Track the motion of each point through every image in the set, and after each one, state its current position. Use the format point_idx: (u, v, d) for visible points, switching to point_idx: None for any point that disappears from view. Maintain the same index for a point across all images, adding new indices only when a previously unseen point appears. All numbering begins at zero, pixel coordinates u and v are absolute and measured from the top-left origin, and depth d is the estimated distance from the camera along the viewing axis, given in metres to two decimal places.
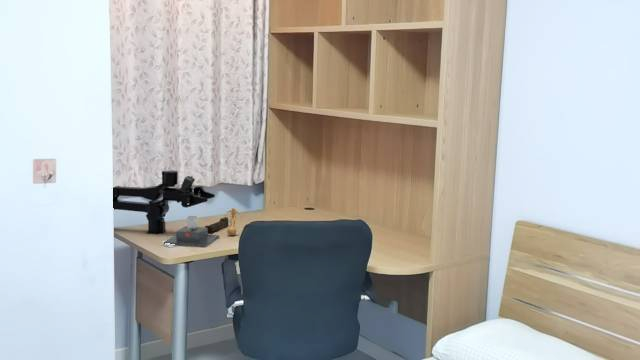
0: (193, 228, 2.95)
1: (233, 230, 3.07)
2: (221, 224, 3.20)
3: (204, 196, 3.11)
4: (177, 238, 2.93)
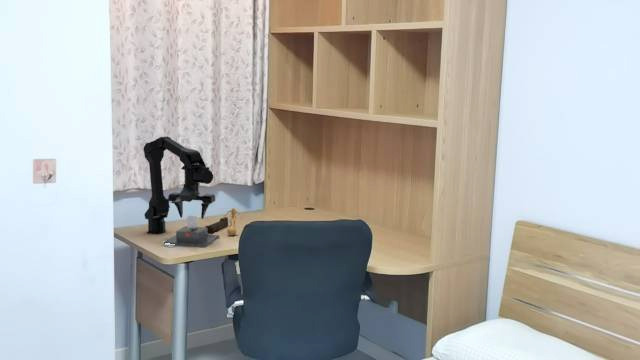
0: (193, 228, 2.95)
1: (233, 230, 3.07)
2: (221, 224, 3.20)
3: None
4: (177, 238, 2.93)
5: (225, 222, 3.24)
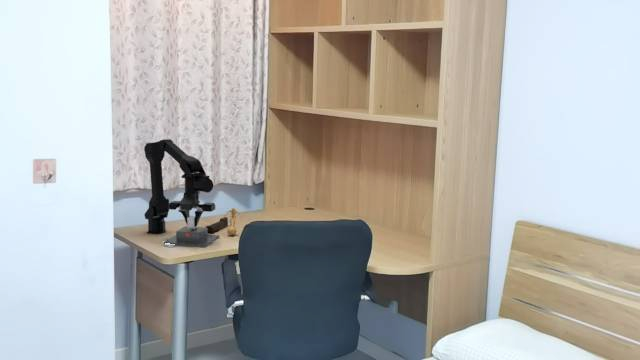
0: (193, 228, 2.95)
1: (233, 230, 3.07)
2: (221, 224, 3.20)
3: None
4: (177, 238, 2.93)
5: (225, 222, 3.24)
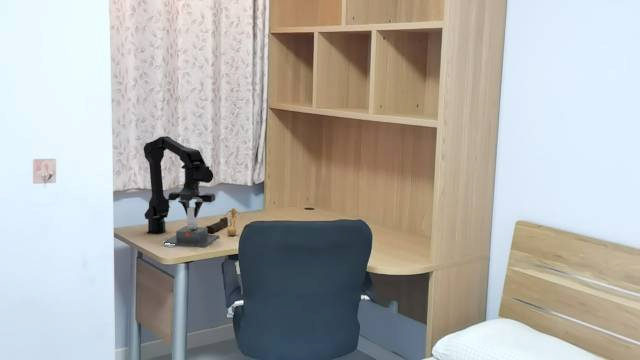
0: (193, 219, 2.95)
1: (233, 230, 3.07)
2: (221, 224, 3.20)
3: None
4: (177, 238, 2.93)
5: (225, 222, 3.24)
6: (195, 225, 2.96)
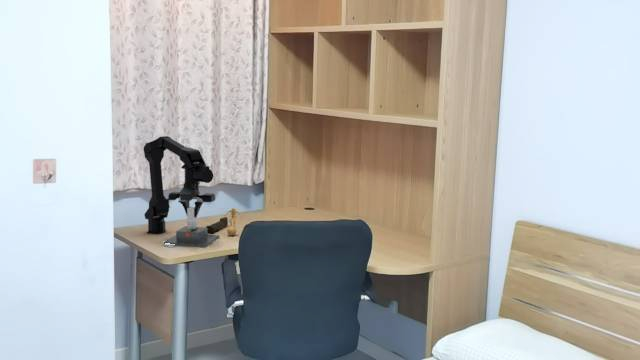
0: (193, 219, 2.95)
1: (233, 230, 3.07)
2: (221, 224, 3.20)
3: None
4: (177, 238, 2.93)
5: (225, 222, 3.24)
6: (195, 225, 2.96)
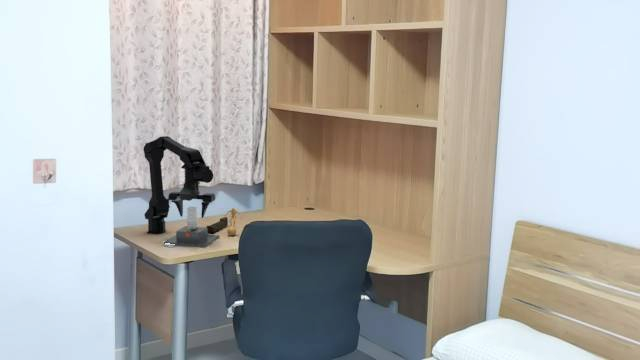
0: (193, 219, 2.95)
1: (233, 230, 3.07)
2: (221, 224, 3.20)
3: None
4: (177, 238, 2.93)
5: (225, 222, 3.24)
6: (195, 225, 2.96)
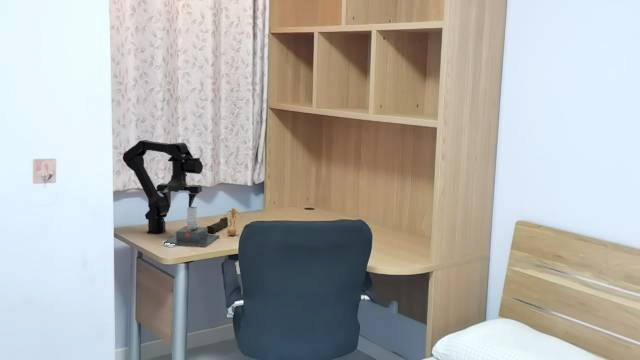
0: (193, 219, 2.95)
1: (233, 230, 3.07)
2: (222, 224, 3.20)
3: None
4: (177, 238, 2.93)
5: (225, 222, 3.24)
6: (195, 225, 2.96)
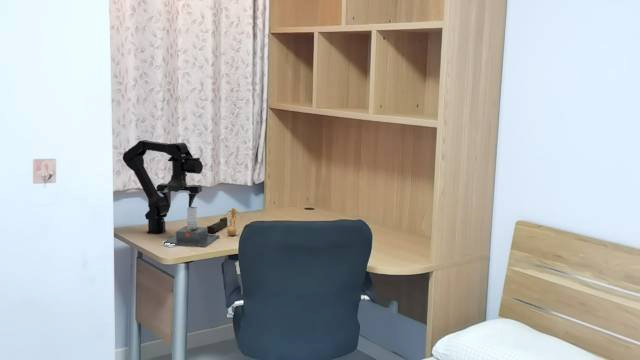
0: (193, 219, 2.95)
1: (233, 230, 3.07)
2: (222, 224, 3.20)
3: None
4: (177, 238, 2.93)
5: (225, 222, 3.24)
6: (195, 225, 2.96)
